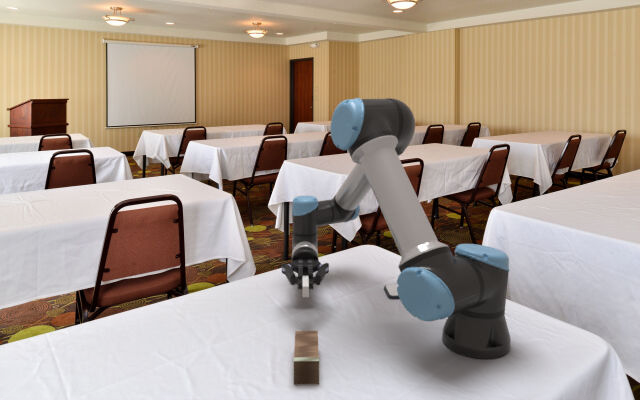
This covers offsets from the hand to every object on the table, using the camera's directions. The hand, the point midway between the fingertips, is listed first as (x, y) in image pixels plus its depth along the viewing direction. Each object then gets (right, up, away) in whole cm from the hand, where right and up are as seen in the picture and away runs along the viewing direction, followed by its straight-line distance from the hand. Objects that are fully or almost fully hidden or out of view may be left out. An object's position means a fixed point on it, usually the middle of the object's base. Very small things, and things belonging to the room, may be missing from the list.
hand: (305, 291), depth 117 cm
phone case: (+31, -6, +28) cm, 42 cm away
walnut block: (0, -10, -5) cm, 11 cm away
